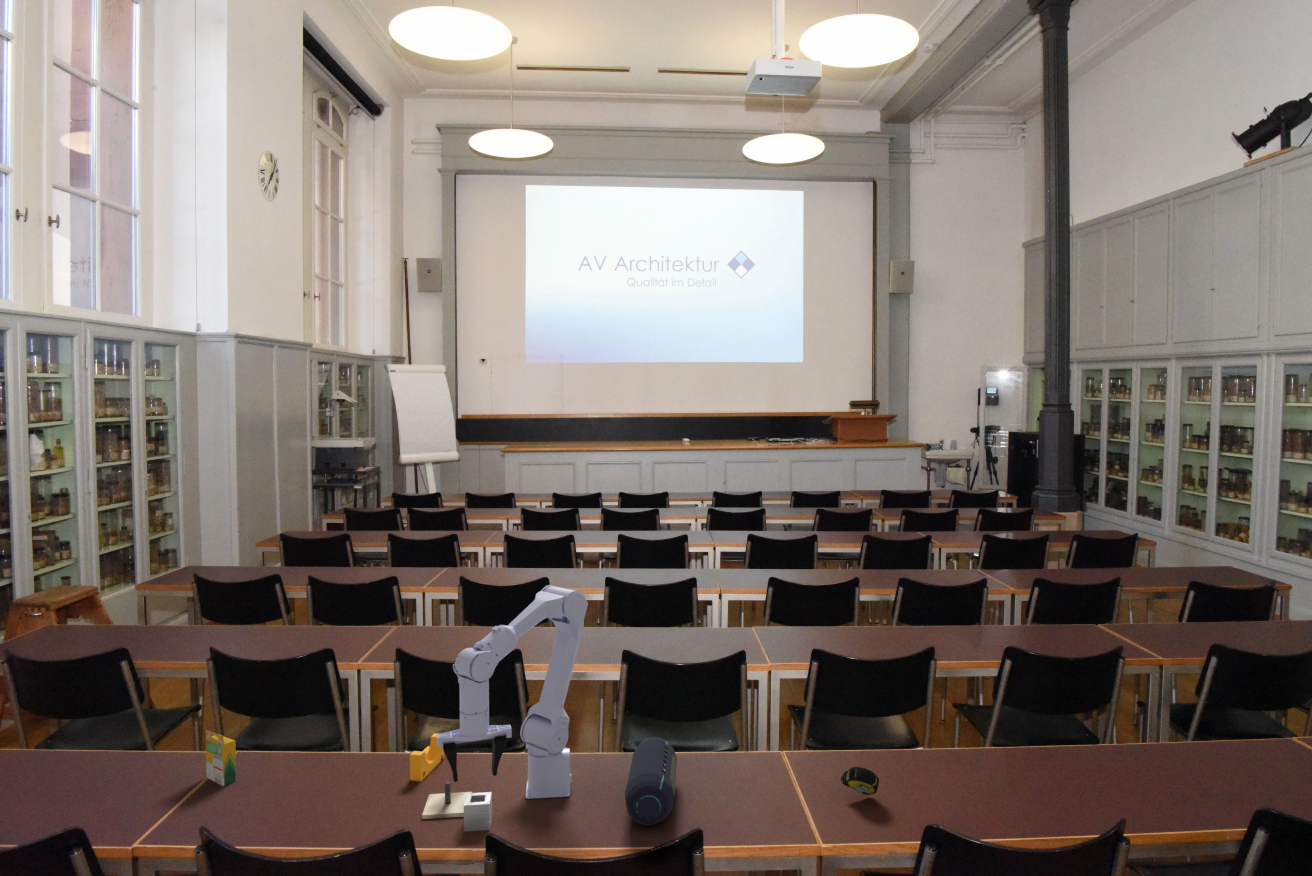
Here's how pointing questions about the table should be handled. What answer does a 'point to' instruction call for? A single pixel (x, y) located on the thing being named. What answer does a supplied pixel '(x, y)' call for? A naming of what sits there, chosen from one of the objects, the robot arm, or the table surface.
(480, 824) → the grey hollow cube
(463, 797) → the cream tile with peg
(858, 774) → the tape measure
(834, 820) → the table surface
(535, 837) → the table surface
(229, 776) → the crayon box
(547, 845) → the table surface
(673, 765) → the portable speaker
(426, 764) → the pipe clamp
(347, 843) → the table surface
